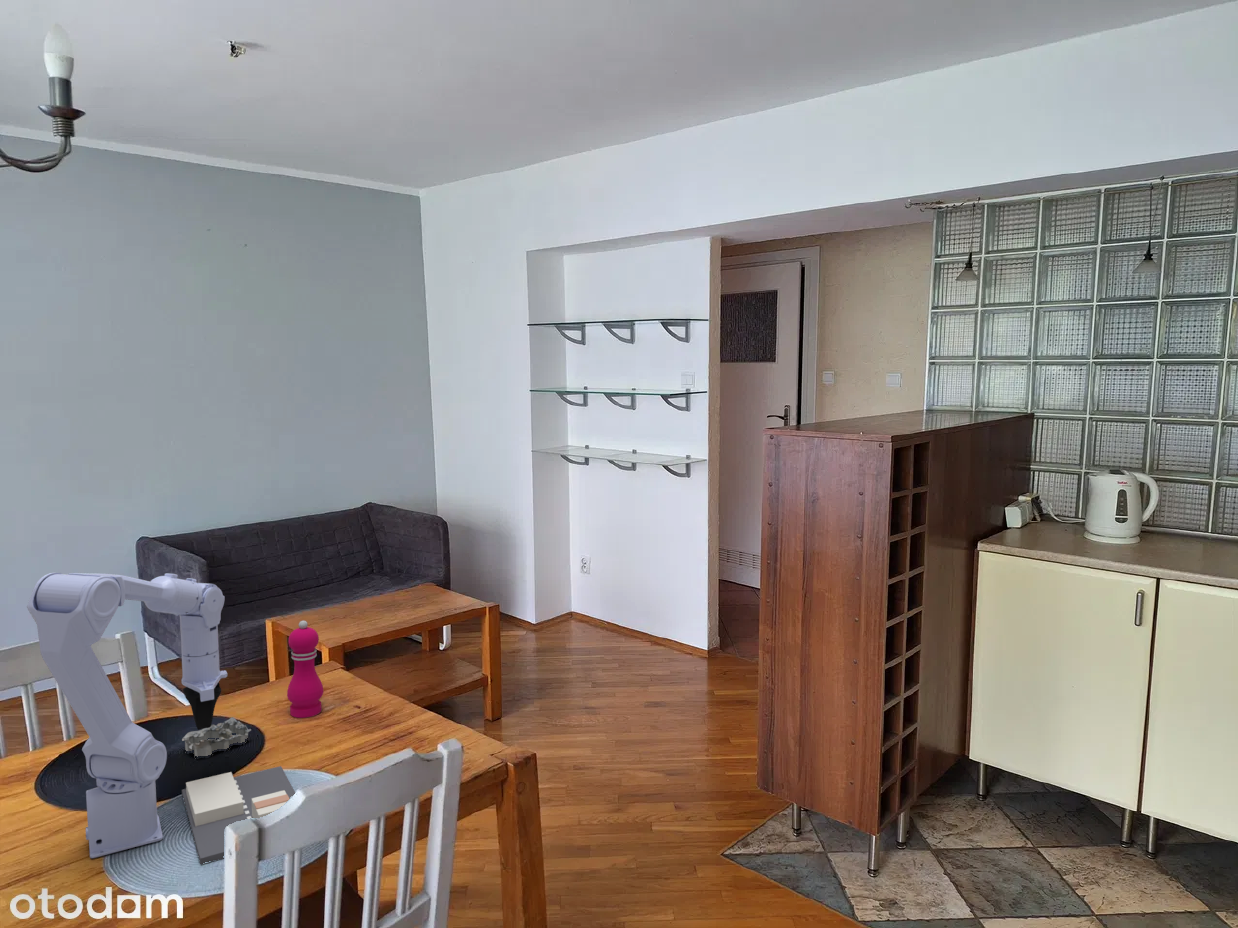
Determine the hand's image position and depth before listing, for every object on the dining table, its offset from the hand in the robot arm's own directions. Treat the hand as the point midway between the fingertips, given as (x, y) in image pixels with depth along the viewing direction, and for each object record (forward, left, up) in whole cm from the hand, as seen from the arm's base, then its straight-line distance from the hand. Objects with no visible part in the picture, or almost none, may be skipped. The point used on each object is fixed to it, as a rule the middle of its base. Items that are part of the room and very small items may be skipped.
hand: (203, 727), depth 144 cm
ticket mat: (+4, -14, -10) cm, 18 cm away
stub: (+7, -21, -9) cm, 24 cm away
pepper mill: (+22, +23, -11) cm, 34 cm away
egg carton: (+4, +15, -11) cm, 19 cm away
